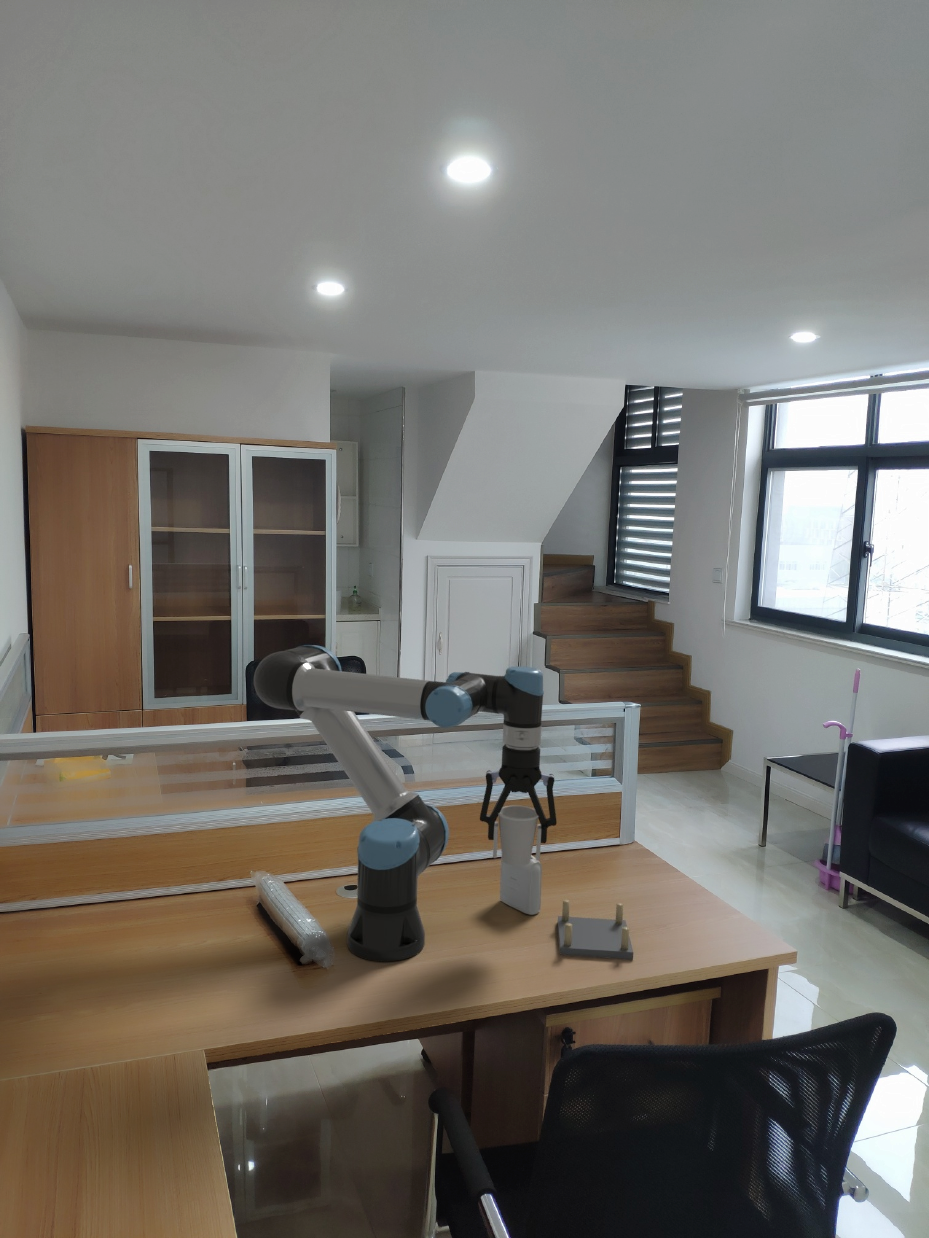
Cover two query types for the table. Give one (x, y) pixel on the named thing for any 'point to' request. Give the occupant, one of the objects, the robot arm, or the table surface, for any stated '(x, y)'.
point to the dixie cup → (517, 834)
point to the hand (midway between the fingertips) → (516, 856)
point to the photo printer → (522, 886)
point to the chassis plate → (594, 935)
